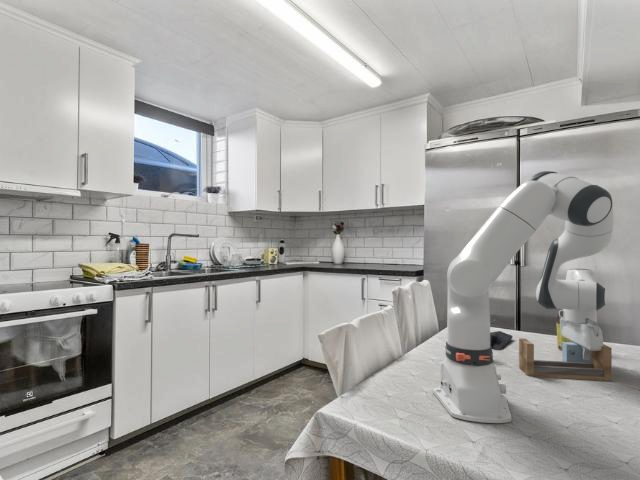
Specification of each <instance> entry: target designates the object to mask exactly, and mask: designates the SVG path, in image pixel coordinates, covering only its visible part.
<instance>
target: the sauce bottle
mask: <svg viewBox="0 0 640 480" xmlns="http://www.w3.org/2000/svg"><path fill="white" fill-rule="evenodd" d="M560 310H563V309H558V312H559V311H560ZM556 316H557V317H556V343H557V348H558V349H559V350H560V351H562V342H570V340H569V339H568V338H566V337H564V336H562V334H561V329H560V318H561V317H560V316H559V313H558V314H557V315H556Z"/></svg>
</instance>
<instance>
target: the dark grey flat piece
mask: <svg viewBox="0 0 640 480" xmlns="http://www.w3.org/2000/svg"><path fill="white" fill-rule="evenodd" d="M511 340H513V335H512V334H509V333H506V332H503V331H501V330H500V331H499V330H497V331H492V332H491V331H490V346H491V347H492V350H497V351H501V350H502V349H503V348H505V347H507V345H508V344H509V343H510V341H511Z"/></svg>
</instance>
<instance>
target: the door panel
mask: <svg viewBox="0 0 640 480" xmlns="http://www.w3.org/2000/svg"><path fill="white" fill-rule="evenodd" d="M561 352H562V353H561V354H562V355H561V356H562V357H561V358H562V361H563V362H582V363H592V358H591V353H590V359H589V360H584V359H582V358H581V353H583V346H581V345H579V344H577V343H573V342H562V350H561Z"/></svg>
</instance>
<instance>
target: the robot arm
mask: <svg viewBox="0 0 640 480" xmlns="http://www.w3.org/2000/svg"><path fill="white" fill-rule="evenodd" d="M549 215H551V216H553V217H555V218H557V219H560V220H563V221H565V223H564V230H563V232H562V234H561V235H560V236H559V237H558V238H555V239H553V240H552V242H551V243H550V245H549V247H548V250H547V254H546V258H545V262H544V266H543V268H542V273H541V277H540V280H539V282H538V284H537V286H536V289H535V298H536V302H537V303H538V304H539V305H540V306H541V307H543V308H544V309H545V310H558V314H559V316H560V317H561V318H560V329H561V334H562V336H564V337H566V338H568V339H569V340H570V342H573V343H577V344H579V345H581V346H583V353H581V358H582V359H584V360H589V359H590V353H591V351H601V349H602V346H603V344H604V339H603V338H604V337H603V331H602V328H601V326H599V325H598V321H597V320H598V316H597V315H598V313H597V312H598V311H599V310H601V309H602V308H603V307H604V306H606V300H605V298H606V297H605V295H606V294H605V293H606V288H605V287H604V286H603V285H601V283H599V282H597V281H596V274H595V271H593V270H592V269H586V268H570V269H568V270H567V272H566V276H565V279H558V275H559V272H560V268H561V266H563V265H564V264H565V263H567V262H570V261H574V260H578V259H582V258H586V257H587V258H588V257H591V256H594V255H597V254H598V253H601V252H602V251H603V250H604V249H606V248H607V247H608V246H609V244H610V242H611V240H612V234H613V231H614V206H613V198H612V195H611V193H610V192H609V191H608V190H607V189H605V188H603V187H601V186H599V185H598V184H592V183H590V182H588V181H585V180H583V179H580V178H578V177H576V176H572V175H568V174H563V173H558V172H556V171H553V170H552V171H551V170H550V171H548V170H547V171H545V170H544V171H540V172H537V173H535V174H534V175H533V176H531V177H530V178H529V179H528V180H527V181H524V182H523V183H522V184H520V185H519V186H518V187H516V189H514V190H513V191H512V192H511V193H510V194H509V195H508V196H507V197H506V198H505V199H504V200H503V201H502V202H501V203H500V204H499V205H498V207H497V208H496V209H495V210H494V211H493V213H491V215H490V216H489V217H488V219H487V220H486V221H485V222H484V223H483V225H481V227H480V228H479V229H478V230H477V232H476V233H475V234H474V236H472V238H471V239H470V240H469V242H468V243H467V244H466V245H465V247H463V249H462V250H461V252H459V254H458V255H457V256H456V257H455V258H453V260H451V262H450V263H449V265H448V268H447V272H446V273H447V274H446V281H447V298H446V299H447V311H446V313H447V314H446V315H447V317H446V318H447V319H446V322H447V325H446V327H447V328H446V329H447V333H446V338H447V339H446V340H447V341H445V348H444V349H445V350H444V351H445V356H446V357H445V358H444V359H443V360H442V361H441V362H440V365H439V386H437V387H434V388H433V389H432V390H433V391H432V393H433V394H434V396H435V397H436V399H437V400H438V401H439V402H440V404H442V406H443V407H444V409H445V410H446V411H447V412H448V414H449V415H450V416H451V417H453V418H456V419H460V420H463V421H469V422H476V423H487V424H503V423H509V422H512V415H511V411H510V408H509V404H508V401H507V397H506V394H507V386H506V384H503V383H499V381H501V379H502V377H501V376H502V375H501V374H499V373H497V366H496V365H495V363H494V351H493V349H492V347H491V346H490V332H491V314H490V312H491V311H490V295H489V294H490V293H489V292H490V291H489V289H490V287H491V288H492V285H493V284H494V283H495V282H496V280H497V279H498V278H499V276H500V275H501V274H502V273H503V272H504V270H505V269H506V268H507V267H508V265H509V263H511V260H512V259H513V258H514V256H515V255H516V254H517V253H518V252H519V251H520V249H521V248H522V247H523V246H524V245H525V244H526V243H527V241H528V240H530V238H531V237H532V236H533V235H534V234H535V233H536V231H537V230H538V229H539V228H540V227H541V226H542V224H543V223H544V221H545V220H546V219H547V218H548V216H549ZM559 309H563V310H560V311H559Z"/></svg>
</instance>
